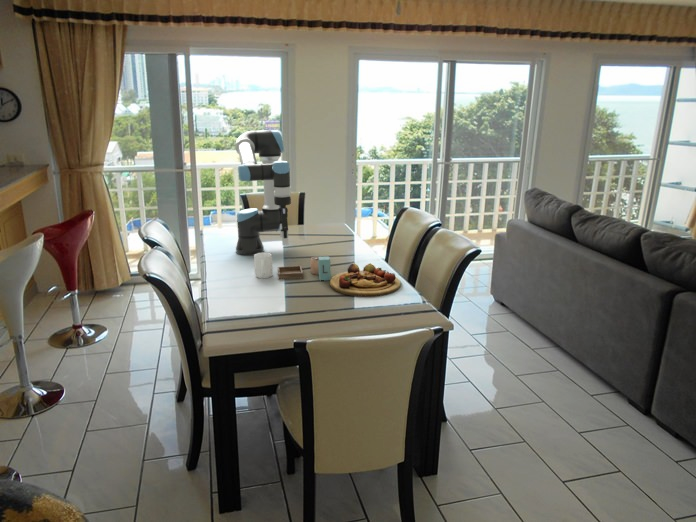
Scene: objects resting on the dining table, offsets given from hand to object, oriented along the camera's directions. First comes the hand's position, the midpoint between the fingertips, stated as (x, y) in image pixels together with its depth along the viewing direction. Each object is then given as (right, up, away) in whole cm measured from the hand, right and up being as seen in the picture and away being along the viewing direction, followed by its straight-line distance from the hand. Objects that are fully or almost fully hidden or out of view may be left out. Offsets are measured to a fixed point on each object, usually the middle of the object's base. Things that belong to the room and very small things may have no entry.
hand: (284, 240), depth 246 cm
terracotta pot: (+15, -15, +9) cm, 23 cm away
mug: (-10, -17, +3) cm, 20 cm away
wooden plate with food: (+37, -21, -9) cm, 44 cm away
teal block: (+19, -18, -1) cm, 26 cm away
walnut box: (+2, -16, +5) cm, 17 cm away
